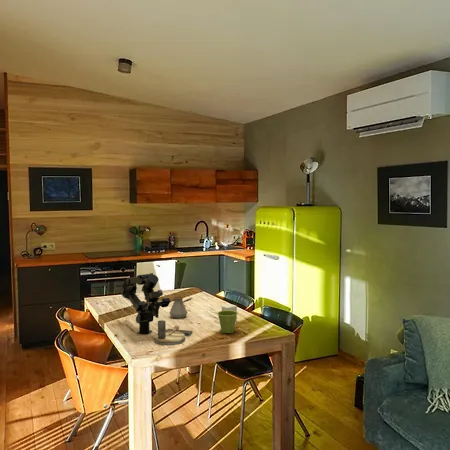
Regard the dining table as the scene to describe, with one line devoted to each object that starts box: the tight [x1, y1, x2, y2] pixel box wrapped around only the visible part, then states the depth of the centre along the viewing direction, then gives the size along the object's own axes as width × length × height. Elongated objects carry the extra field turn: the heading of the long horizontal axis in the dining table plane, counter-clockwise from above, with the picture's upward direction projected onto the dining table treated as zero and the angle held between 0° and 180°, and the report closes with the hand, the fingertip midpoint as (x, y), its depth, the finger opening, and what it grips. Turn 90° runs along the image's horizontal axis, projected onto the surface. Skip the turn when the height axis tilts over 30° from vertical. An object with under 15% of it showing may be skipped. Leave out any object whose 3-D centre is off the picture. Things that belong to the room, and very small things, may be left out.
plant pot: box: [216, 310, 239, 334], centre depth 267 cm, size 12×12×11 cm
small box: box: [221, 303, 238, 323], centre depth 287 cm, size 8×6×10 cm
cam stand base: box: [153, 328, 193, 346], centre depth 255 cm, size 23×17×2 cm
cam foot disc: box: [154, 319, 186, 343], centre depth 255 cm, size 21×16×10 cm
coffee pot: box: [169, 296, 193, 319], centre depth 296 cm, size 21×12×15 cm, turn 38°
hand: (157, 317), depth 250 cm, fingers closed
